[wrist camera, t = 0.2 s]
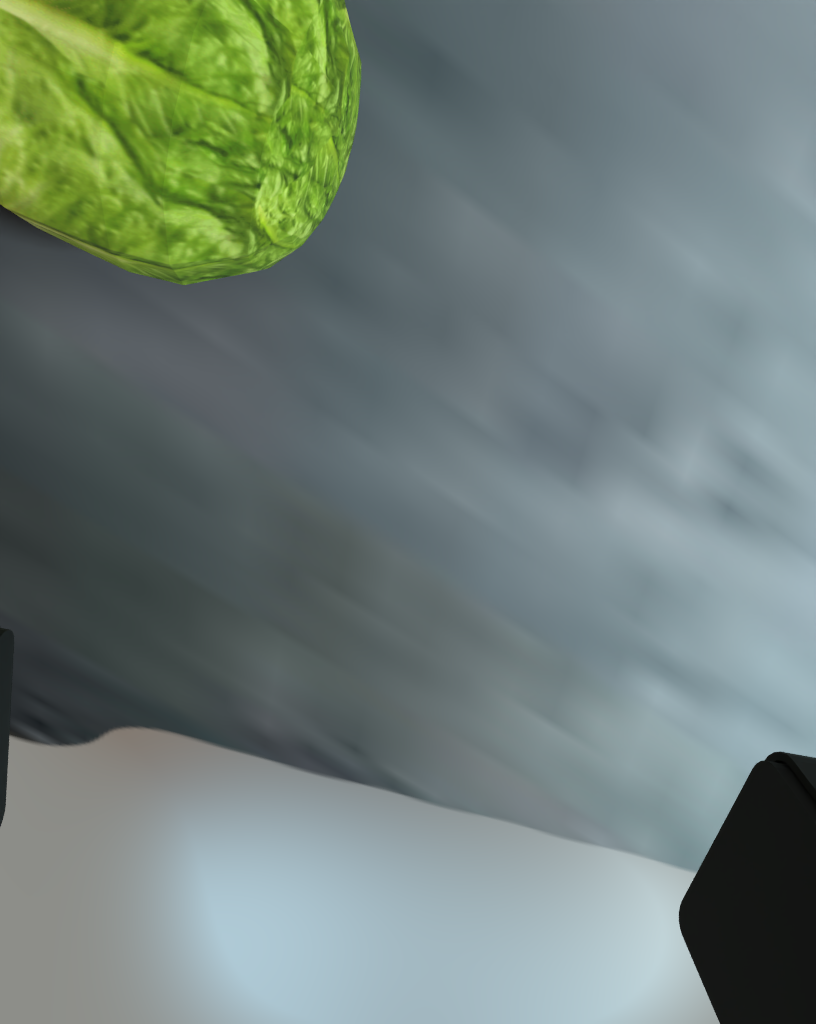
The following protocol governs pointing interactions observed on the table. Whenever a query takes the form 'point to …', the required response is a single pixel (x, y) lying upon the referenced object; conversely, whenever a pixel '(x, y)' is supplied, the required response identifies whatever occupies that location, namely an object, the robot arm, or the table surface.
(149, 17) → the lettuce
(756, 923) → the robot arm
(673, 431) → the table surface
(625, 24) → the table surface
